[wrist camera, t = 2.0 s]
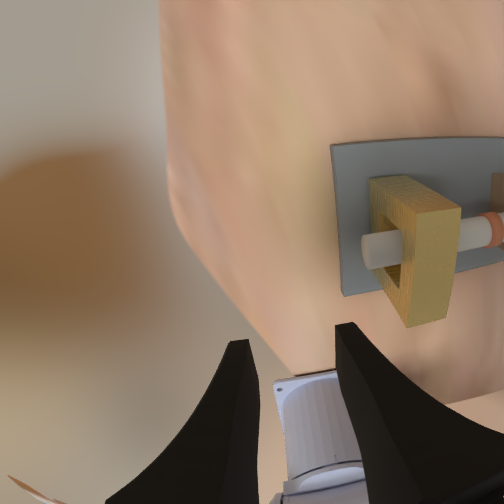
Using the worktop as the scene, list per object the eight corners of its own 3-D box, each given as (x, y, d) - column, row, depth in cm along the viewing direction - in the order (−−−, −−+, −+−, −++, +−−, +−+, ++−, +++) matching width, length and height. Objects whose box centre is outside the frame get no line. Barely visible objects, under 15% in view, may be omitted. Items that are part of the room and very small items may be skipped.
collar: (404, 174, 17) (461, 207, 11) (403, 263, 19) (445, 317, 14) (368, 178, 17) (416, 213, 11) (370, 270, 19) (406, 328, 14)
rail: (510, 137, 16) (558, 152, 11) (500, 255, 20) (536, 287, 16) (329, 144, 17) (358, 160, 12) (341, 290, 21) (361, 339, 17)
